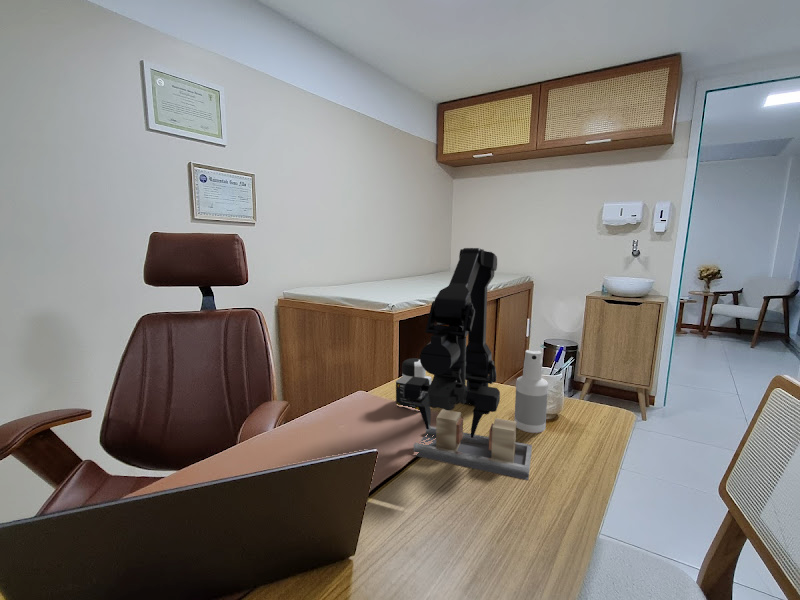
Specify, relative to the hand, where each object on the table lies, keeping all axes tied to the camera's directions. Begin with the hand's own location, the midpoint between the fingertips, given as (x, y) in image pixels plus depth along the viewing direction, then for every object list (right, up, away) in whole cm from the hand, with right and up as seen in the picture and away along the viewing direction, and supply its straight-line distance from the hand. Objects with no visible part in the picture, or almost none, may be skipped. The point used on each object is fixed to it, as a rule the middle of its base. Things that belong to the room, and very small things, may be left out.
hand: (449, 432), depth 78 cm
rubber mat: (+4, -4, -1) cm, 6 cm away
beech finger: (0, -3, +1) cm, 3 cm away
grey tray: (+4, -4, -1) cm, 6 cm away
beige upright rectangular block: (+10, -4, -3) cm, 11 cm away
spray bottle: (+20, -2, +10) cm, 22 cm away
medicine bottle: (-7, -1, +22) cm, 23 cm away
